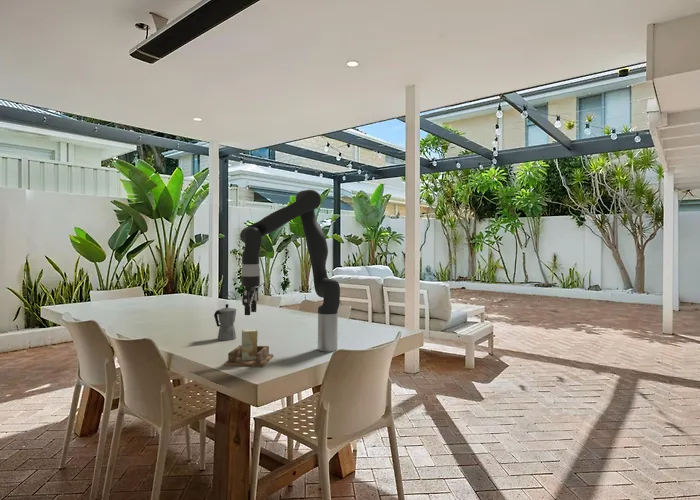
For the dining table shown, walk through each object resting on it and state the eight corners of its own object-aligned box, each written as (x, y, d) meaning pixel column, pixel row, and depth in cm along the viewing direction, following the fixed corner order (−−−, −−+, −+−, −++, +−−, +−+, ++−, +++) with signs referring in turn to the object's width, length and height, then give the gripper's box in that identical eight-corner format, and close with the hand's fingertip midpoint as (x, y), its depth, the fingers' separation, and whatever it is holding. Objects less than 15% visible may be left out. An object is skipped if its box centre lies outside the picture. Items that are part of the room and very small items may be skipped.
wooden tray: (237, 355, 193) (237, 344, 193) (273, 356, 191) (273, 345, 191) (224, 365, 177) (224, 353, 177) (263, 366, 175) (263, 354, 175)
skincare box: (241, 361, 180) (242, 331, 180) (241, 358, 184) (241, 329, 184) (257, 359, 182) (257, 330, 182) (256, 357, 186) (256, 328, 186)
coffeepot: (228, 335, 234) (228, 302, 234) (242, 337, 230) (242, 303, 229) (207, 341, 220) (207, 305, 220) (221, 343, 216) (221, 306, 215)
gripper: (254, 276, 175) (254, 316, 176) (264, 273, 189) (264, 311, 190) (236, 276, 176) (236, 316, 176) (247, 273, 190) (247, 310, 190)
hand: (250, 313), depth 183 cm, fingers open, 8 cm apart
